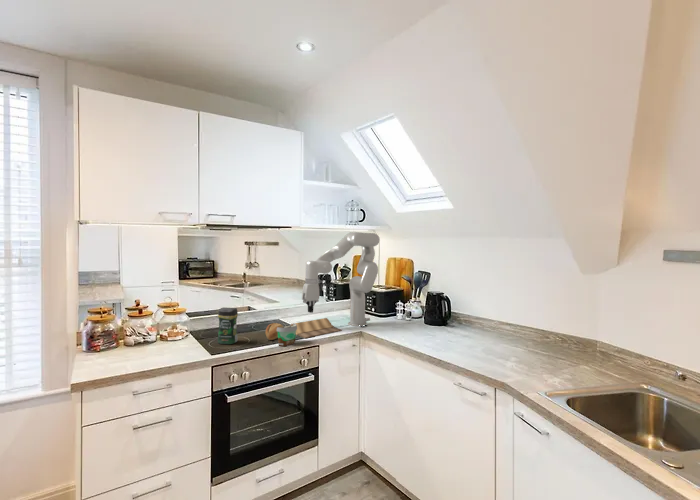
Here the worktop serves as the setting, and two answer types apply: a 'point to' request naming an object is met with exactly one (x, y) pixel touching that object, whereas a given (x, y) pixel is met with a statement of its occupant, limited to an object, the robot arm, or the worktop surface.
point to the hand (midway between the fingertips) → (310, 312)
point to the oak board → (313, 325)
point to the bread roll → (272, 331)
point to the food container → (286, 335)
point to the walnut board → (319, 332)
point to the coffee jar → (227, 325)
